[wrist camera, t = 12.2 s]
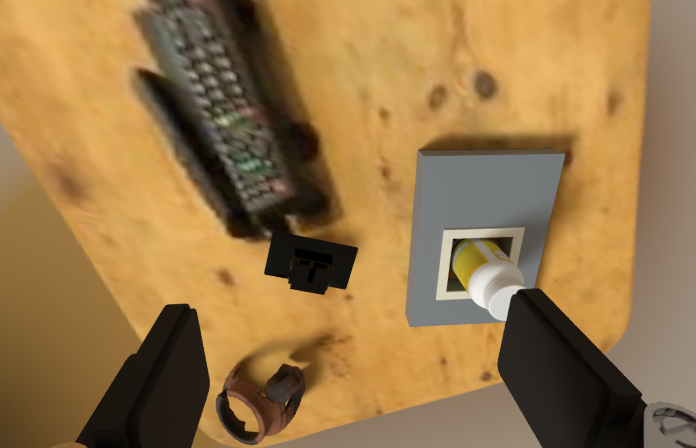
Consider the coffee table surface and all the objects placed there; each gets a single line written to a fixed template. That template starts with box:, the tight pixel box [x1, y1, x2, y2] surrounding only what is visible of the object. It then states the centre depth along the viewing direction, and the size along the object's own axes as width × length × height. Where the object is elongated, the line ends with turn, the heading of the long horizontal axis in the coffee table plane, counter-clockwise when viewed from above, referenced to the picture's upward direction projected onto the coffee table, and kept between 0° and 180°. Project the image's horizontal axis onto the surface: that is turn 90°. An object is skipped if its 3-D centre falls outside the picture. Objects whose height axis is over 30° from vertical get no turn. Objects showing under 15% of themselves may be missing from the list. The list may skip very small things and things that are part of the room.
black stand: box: [264, 231, 358, 295], centre depth 41 cm, size 12×7×5 cm, turn 75°
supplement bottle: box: [450, 238, 527, 321], centre depth 39 cm, size 5×5×10 cm
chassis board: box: [405, 148, 565, 327], centre depth 42 cm, size 20×14×3 cm
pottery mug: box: [216, 364, 305, 445], centre depth 46 cm, size 12×10×8 cm
